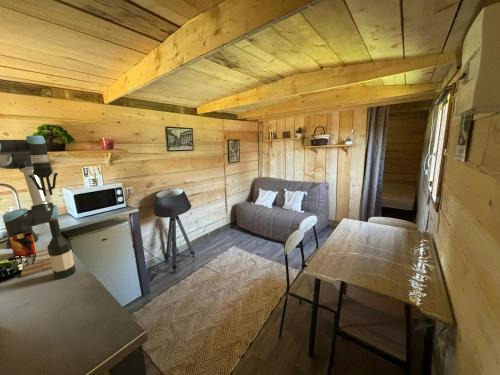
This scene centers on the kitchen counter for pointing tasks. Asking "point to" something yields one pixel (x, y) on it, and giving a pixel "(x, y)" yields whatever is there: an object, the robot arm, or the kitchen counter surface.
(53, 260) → the wine bottle
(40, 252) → the plank
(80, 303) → the kitchen counter surface
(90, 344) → the kitchen counter surface
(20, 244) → the mug
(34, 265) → the floorboard
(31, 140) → the robot arm
